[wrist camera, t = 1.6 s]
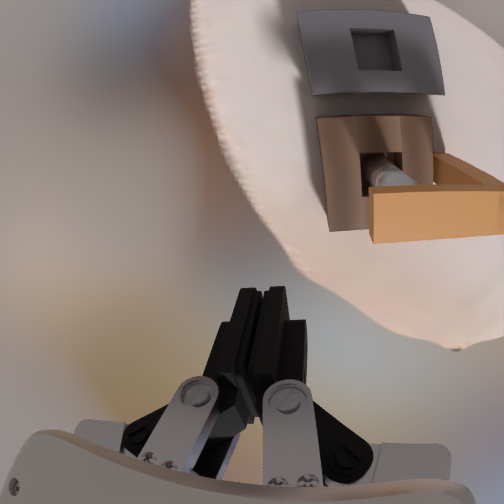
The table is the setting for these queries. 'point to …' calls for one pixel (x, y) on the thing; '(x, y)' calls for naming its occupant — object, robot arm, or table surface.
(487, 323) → the table surface
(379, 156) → the grey metal rod
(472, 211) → the orange angle bracket
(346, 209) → the socket block
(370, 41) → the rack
